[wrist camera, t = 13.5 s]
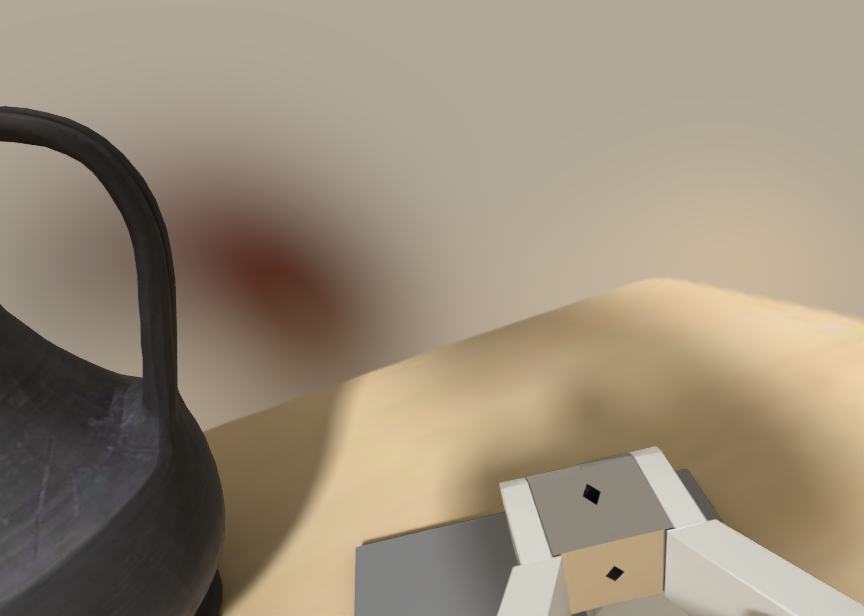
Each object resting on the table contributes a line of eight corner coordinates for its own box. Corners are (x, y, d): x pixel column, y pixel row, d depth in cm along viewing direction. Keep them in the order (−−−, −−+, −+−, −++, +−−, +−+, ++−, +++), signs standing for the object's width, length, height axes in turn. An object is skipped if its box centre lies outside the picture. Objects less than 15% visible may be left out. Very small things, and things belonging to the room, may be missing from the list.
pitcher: (41, 577, 39) (-372, 199, 23) (307, 453, 43) (115, 69, 28) (-46, 890, 24) (-1285, 455, 9) (365, 655, 29) (36, 99, 13)
